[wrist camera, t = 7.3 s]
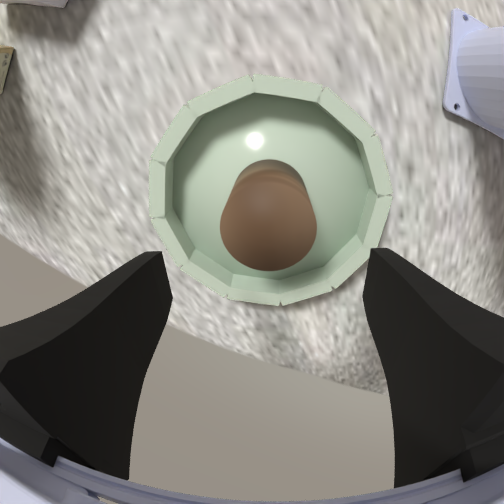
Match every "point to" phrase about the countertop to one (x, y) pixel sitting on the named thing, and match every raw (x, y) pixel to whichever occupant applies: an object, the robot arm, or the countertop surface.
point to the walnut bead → (268, 217)
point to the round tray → (261, 148)
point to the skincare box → (4, 63)
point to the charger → (38, 2)
